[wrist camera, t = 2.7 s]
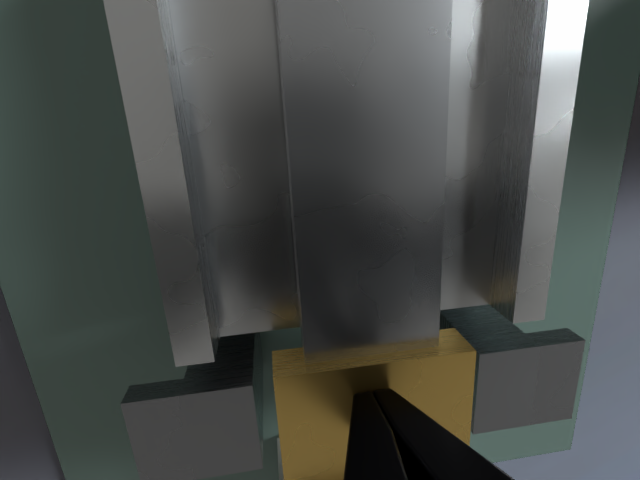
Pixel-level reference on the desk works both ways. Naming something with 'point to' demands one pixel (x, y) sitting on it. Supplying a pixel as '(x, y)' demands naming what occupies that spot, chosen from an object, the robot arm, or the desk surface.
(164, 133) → the grey rail mechanism
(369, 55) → the gold-ended metal bar
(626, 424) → the desk surface
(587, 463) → the desk surface
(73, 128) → the board
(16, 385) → the desk surface
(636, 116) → the desk surface
